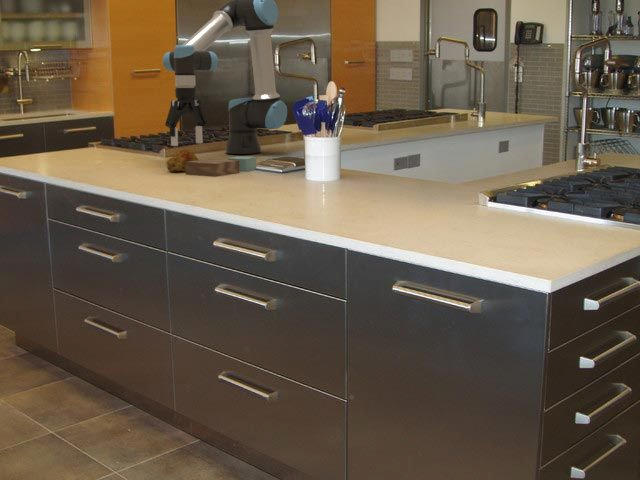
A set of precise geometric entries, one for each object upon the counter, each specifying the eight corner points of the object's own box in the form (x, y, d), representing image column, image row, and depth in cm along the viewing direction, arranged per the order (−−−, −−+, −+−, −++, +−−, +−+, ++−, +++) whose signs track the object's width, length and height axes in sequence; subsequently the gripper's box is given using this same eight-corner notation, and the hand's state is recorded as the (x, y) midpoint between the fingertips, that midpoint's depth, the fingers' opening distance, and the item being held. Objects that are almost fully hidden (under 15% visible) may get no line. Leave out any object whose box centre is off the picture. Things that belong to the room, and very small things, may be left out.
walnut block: (210, 171, 338) (210, 158, 337) (239, 173, 331) (239, 160, 330) (185, 175, 327) (185, 161, 326) (215, 177, 319) (214, 163, 318)
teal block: (238, 169, 344) (238, 156, 344) (256, 169, 341) (256, 156, 340) (227, 171, 337) (227, 158, 336) (246, 172, 334) (246, 158, 333)
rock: (189, 182, 333) (168, 166, 329) (181, 184, 340) (160, 168, 336) (204, 158, 337) (184, 142, 333) (196, 160, 344) (175, 145, 340)
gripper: (200, 86, 343) (201, 141, 347) (154, 87, 323) (156, 146, 327) (215, 86, 339) (216, 142, 343) (169, 87, 319) (171, 146, 322)
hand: (187, 144), depth 335 cm, fingers open, 13 cm apart
